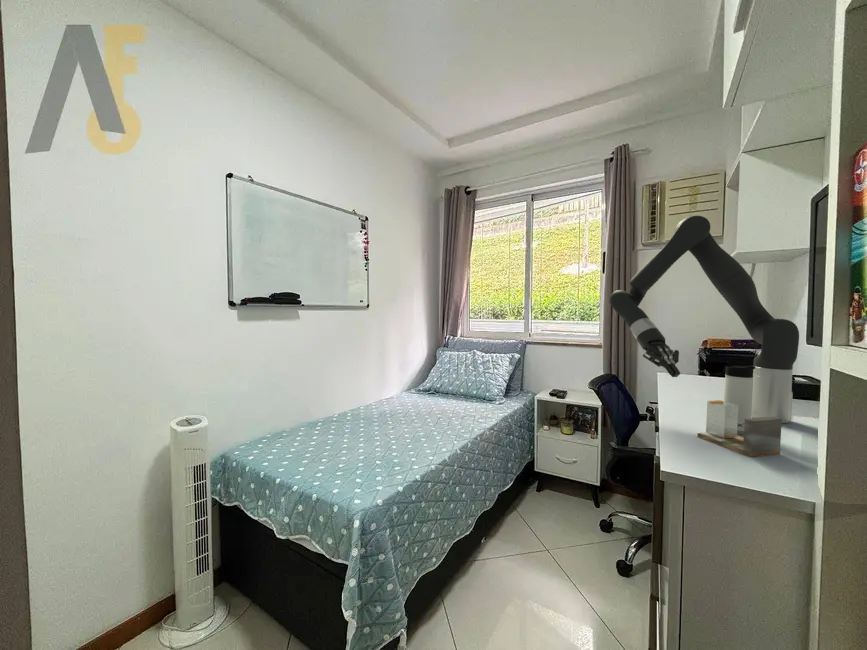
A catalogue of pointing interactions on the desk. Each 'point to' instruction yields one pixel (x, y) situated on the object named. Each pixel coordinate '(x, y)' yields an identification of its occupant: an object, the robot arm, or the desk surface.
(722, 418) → the white card box
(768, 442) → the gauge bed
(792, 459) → the desk surface
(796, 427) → the desk surface
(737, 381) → the travel mug
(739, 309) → the robot arm
